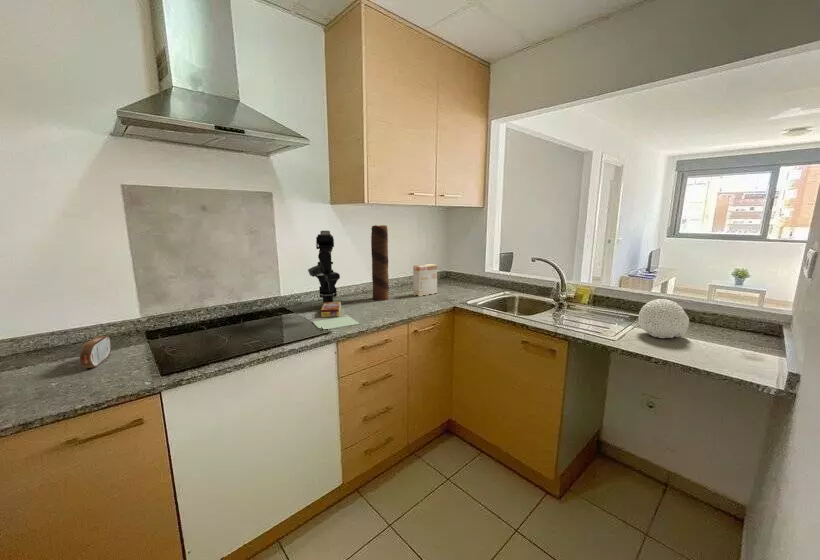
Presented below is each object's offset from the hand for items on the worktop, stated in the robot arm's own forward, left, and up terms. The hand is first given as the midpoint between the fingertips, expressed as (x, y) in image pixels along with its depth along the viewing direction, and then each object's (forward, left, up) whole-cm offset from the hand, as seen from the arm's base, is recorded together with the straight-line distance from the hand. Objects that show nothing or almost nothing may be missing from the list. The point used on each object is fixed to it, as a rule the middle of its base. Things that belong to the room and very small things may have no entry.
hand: (326, 290), depth 164 cm
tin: (+16, -83, -13) cm, 86 cm away
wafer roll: (-19, +39, -13) cm, 45 cm away
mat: (+15, -1, -13) cm, 20 cm away
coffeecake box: (-16, +70, -13) cm, 73 cm away
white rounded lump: (+100, +112, -13) cm, 151 cm away
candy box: (+4, 0, -11) cm, 11 cm away
